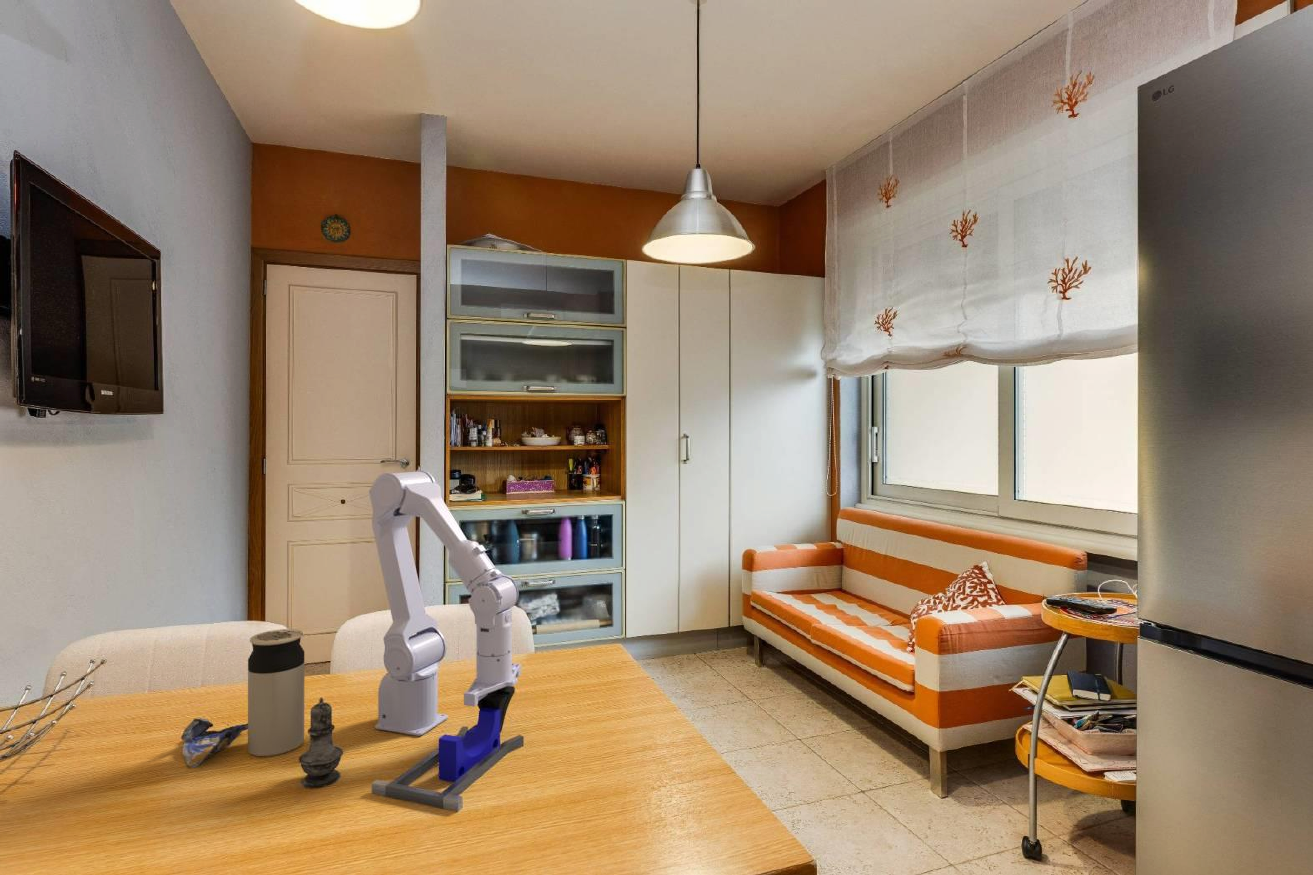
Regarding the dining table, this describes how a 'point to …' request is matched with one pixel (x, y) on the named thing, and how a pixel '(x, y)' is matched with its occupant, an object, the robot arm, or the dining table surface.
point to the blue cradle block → (469, 746)
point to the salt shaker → (321, 750)
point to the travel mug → (275, 692)
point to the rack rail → (451, 794)
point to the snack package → (207, 739)
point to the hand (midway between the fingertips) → (494, 733)
